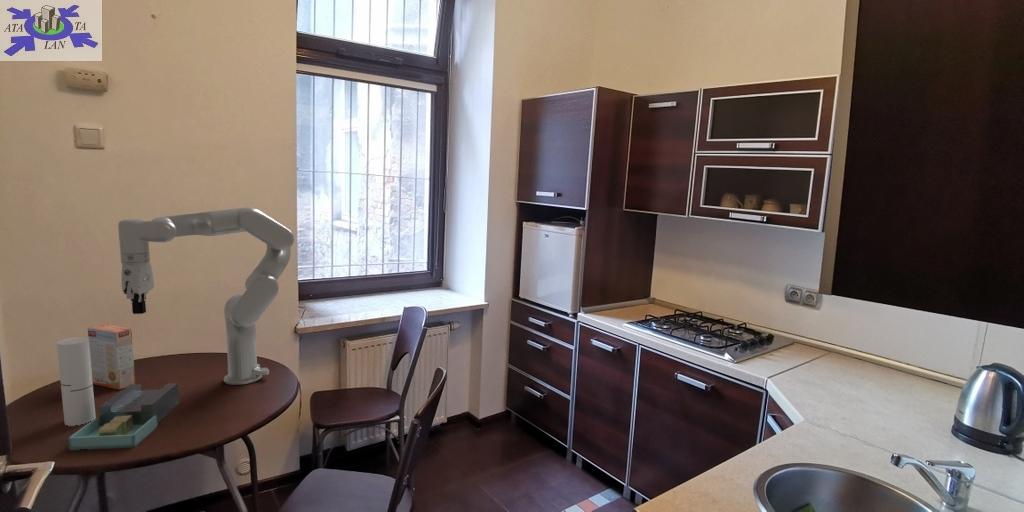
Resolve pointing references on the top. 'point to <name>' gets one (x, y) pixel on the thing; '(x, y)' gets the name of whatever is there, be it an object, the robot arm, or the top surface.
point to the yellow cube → (111, 429)
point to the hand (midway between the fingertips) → (139, 313)
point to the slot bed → (140, 404)
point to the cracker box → (111, 356)
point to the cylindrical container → (76, 380)
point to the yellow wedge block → (124, 423)
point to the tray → (92, 440)
